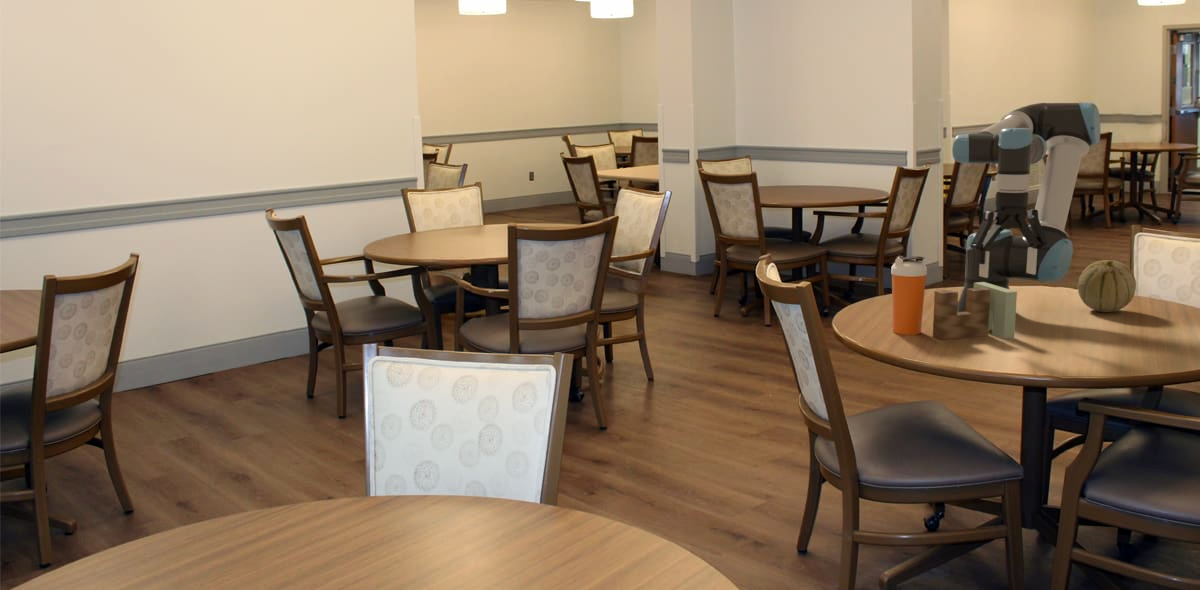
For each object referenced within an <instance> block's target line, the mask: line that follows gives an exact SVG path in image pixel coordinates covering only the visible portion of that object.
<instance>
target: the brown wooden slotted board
mask: <svg viewBox="0 0 1200 590" xmlns="http://www.w3.org/2000/svg"><path fill="white" fill-rule="evenodd" d="M933 299H934V301H933V321H932V323H933V324H932V326H933V327H932V337H933V338H934V339H936V340H939V341H940V340H951V339H960V338H961V339H963V338H974V337H985V336H989V330H988V326H989V307H990V289H987V288H971V289H967V296H966V312H958V311H957V308H958V301H959V292H958V291H956V290H953V289H947V290H935V291H934V298H933Z"/></svg>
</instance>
